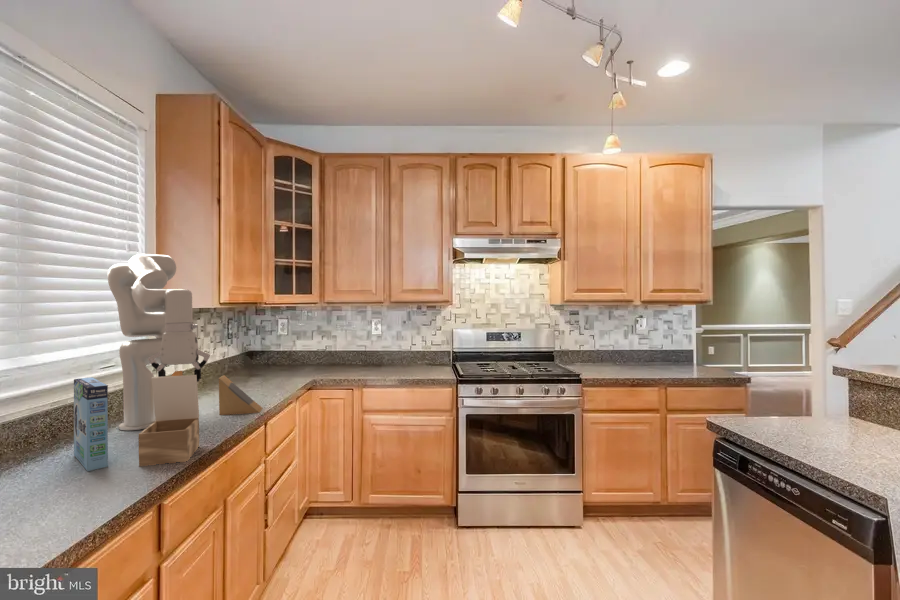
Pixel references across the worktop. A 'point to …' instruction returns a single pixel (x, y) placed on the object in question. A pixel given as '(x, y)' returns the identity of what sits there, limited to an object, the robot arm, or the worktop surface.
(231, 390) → the sandwich container
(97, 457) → the gum box
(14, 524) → the worktop surface
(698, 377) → the worktop surface
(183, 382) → the lid
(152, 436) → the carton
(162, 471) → the worktop surface
